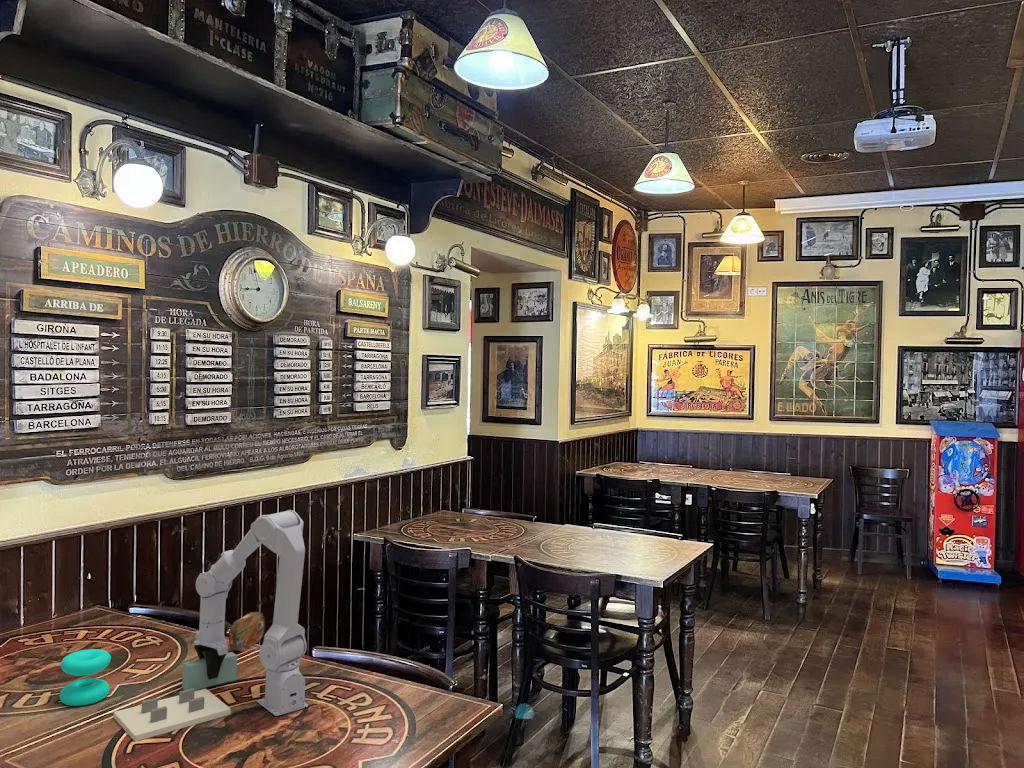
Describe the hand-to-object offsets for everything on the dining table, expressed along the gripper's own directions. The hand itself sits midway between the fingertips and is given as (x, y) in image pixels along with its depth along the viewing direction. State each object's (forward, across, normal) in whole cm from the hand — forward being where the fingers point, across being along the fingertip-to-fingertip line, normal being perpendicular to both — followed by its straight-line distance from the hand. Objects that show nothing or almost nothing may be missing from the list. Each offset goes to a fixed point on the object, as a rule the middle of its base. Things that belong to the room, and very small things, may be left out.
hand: (209, 675), depth 182 cm
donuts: (+2, -9, -25) cm, 27 cm away
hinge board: (+2, +12, -13) cm, 18 cm away
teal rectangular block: (+2, 0, 0) cm, 2 cm away
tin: (+2, -19, +18) cm, 26 cm away
